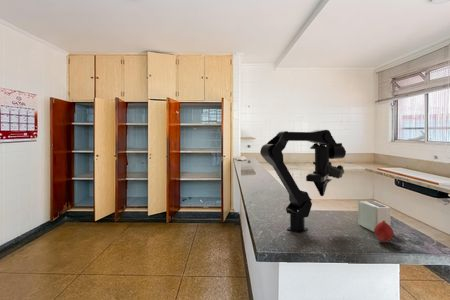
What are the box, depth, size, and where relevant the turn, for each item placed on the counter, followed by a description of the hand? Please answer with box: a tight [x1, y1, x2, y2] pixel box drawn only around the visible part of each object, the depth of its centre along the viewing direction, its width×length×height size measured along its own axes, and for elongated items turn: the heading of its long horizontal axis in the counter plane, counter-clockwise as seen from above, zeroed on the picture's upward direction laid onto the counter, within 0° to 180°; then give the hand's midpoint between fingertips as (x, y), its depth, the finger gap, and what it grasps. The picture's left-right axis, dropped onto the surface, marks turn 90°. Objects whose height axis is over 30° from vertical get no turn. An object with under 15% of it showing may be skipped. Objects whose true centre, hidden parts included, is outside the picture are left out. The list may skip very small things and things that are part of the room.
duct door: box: [357, 200, 376, 233], centre depth 109 cm, size 1×10×10 cm, turn 6°
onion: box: [373, 220, 394, 243], centre depth 95 cm, size 6×6×8 cm
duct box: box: [362, 200, 391, 227], centre depth 110 cm, size 5×11×10 cm, turn 0°
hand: (322, 195), depth 113 cm, fingers closed
